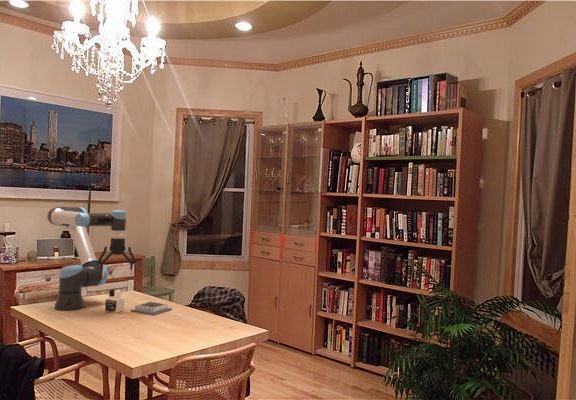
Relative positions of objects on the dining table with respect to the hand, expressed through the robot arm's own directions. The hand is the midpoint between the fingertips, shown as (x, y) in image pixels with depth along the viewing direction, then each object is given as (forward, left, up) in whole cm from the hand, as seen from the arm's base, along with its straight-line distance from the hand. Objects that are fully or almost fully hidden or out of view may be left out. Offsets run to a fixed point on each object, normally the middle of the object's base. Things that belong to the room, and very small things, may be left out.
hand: (116, 276), depth 261 cm
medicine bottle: (0, 0, -20) cm, 20 cm away
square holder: (+16, +12, -20) cm, 28 cm away
